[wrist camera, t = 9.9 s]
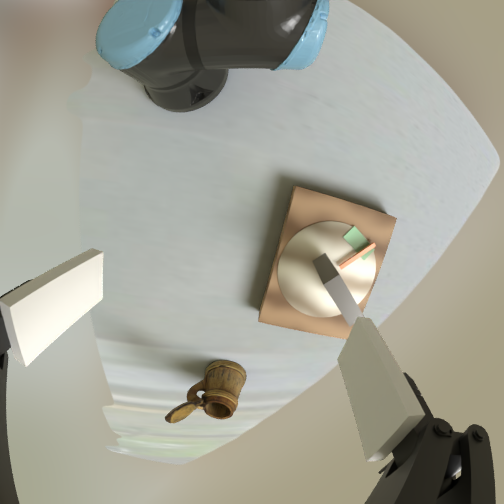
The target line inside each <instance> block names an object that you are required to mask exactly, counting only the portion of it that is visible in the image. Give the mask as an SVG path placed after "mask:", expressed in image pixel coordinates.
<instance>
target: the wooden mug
mask: <svg viewBox="0 0 504 504" xmlns="http://www.w3.org/2000/svg"><path fill="white" fill-rule="evenodd" d="M245 381H246V372H245V370H244V369H243V367H241V366H240V365H239V364H237V363H235V362H232V361H224V360H219V361H215V362H213V363H212V364H210V365H209V366H208V367H207V368H206V370H205V378H204V379H203V380H202V381H200V382H199V383H197V384H195V385H194V386H192V387H191V388H190V389H189V391H188V393H187V401H188V402H186V403H183V404H181V405H179V406H177V407H176V408H174V409H173V410H172V411H170V412H169V413H168V414H167V415H166V416H165V420H166V421H167V422H169V423H176V422H179V421H181V420H183V419H184V418H186V417H187V416H188V415H190V414H191V413H192V411H193V410H195V409H197V408H198V409H202V410H204V411H205V413H206V414H207V415H209V416H211V417H213V418H216V419H227V418H230V417H231V416H232V415H233V412H234V411H235V410H236V408H237V406H238V398H239V395H240V392H241V389H242V387H243V385H244V383H245ZM198 391H204V392H205V393H204V394H202V398H199V397H198V396H197V392H198Z"/></svg>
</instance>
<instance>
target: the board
mask: <svg viewBox="0 0 504 504" xmlns="http://www.w3.org/2000/svg"><path fill="white" fill-rule="evenodd" d="M396 219H397V218H395V217H393V216H390V215H388V214H385V213H382V212H379V211H376V210H373V209H370V208H367V207H364V206H361V205H358V204H355V203H352V202H349V201H346V200H343V199H339V198H336V197H333V196H330V195H326V194H323V193H319V192H316V191H312V190H309V189H305V188H302V187H298V186H293V190H292V194H291V198H290V202H289V206H288V209H287V213H286V217H285V221H284V224H283V228H282V232H281V236H280V239H279V243H278V247H277V250H276V254H275V257H274V261H273V265H272V268H271V272H270V275H269V279H268V282H267V286H266V289H265V293H264V296H263V300H262V303H261V307H260V310H259V320H258V322H262V323H266V324H271V325H275V326H280V327H284V328H289V329H294V330H299V331H304V332H309V333H314V334H319V335H325V336H330V337H336V338H342V339H348V337H349V334H350V332H351V330H352V328H353V326H354V324H353V325H352V326H349V325H348V323H347V322H346V320H345V318H344V317H343V315H342V314H341V312H340V310H339V309H338V307H337V306H336V304H335V302H334V301H333V299H332V298H331V296H330V295H329V293H328V291H327V290H326V288H325V287H324V285H323V283H322V281H321V279H320V277H319V275H318V272H317V270H316V268H315V266H314V264H313V262H312V261H313V260H314V259H316V258H318V257H319V256H321V255H322V254H324V253H326V255H327V256H328V258H329V259H330V261H331V262H332V264H333V265H334V267H335V268H336V270H337V271H338V273H339V274H340V276H341V278H342V279H343V281H344V283H345V284H346V286H347V288H348V289H349V291H350V293H351V294H352V296H353V298H354V300H355V301H356V303H357V305H358V306H359V308H360V310H361V312H362V313H363V310H364V308H365V306H366V303H367V301H368V298H369V296H370V294H371V291H372V289H373V286H374V284H375V281H376V278H377V276H378V273H379V270H380V268H381V265H382V262H383V259H384V256H385V254H386V251H387V248H388V245H389V242H390V239H391V235H392V232H393V229H394V226H395V223H396ZM372 242H374V243H375V245H376V247H374V248H373V249H371V250H370V251H368V252H367V253H365V254H364V255H363V256H361V257H360V258H358V259H357V260H355V261H354V262H352V263H351V264H349V265H348V266H346V267H345V268H343V269H342V270H341V268H340V267H339V265H340V264H341V263H343V262H344V261H346V260H347V259H349V258H350V257H352V256H353V255H355V254H356V253H358V252H359V251H361V250H362V249H364V248H365V247H367V246H368V245H369V244H371V243H372Z"/></svg>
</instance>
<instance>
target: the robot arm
mask: <svg viewBox="0 0 504 504" xmlns="http://www.w3.org/2000/svg"><path fill="white" fill-rule="evenodd" d="M328 14H329V0H118V1H117V2H116V3H115V4H114V6H113V7H112V8H110V10H109V11H108V12H107V13H106V14H105V16H104V17H103V19H102V21H101V23H100V25H99V28H98V30H97V34H96V48H97V51H98V53H99V55H100V56H101V57H102V58H103V59H104V60H106V61H107V62H108V63H109V64H110V65H111V66H112V67H113V68H115V69H118V70H120V71H122V72H124V73H126V74H127V75H129V76H131V77H132V78H134V79H136V80H138V81H139V82H141V83H142V84H143V85H144V87H145V90H146V93H147V95H148V96H149V98H150V99H151V100H152V101H153V102H154V103H155V104H156V105H158V106H160V107H162V108H163V109H166V110H168V111H172V112H188V111H193V110H196V109H199V108H201V107H203V106H205V105H206V104H208V103H209V102H211V101H212V100H213V99H214V98H215V97H216V96H217V95H218V94H219V93H220V92H221V90H222V89H223V87H224V85H225V83H226V80H227V77H228V69H234V68H266V69H270V70H273V71H276V70H280V69H291V70H300V69H304V68H306V67H308V66H310V65H311V64H312V63H313V62H314V60H315V59H316V57H317V55H318V53H319V51H320V49H321V46H322V43H323V40H324V37H325V33H326V29H327V20H326V19H327V17H328ZM102 281H103V252H102V251H99V250H96V249H93V248H92V249H90V250H88V251H86V252H84V253H82V254H80V255H78V256H76V257H74V258H72V259H70V260H68V261H66V262H64V263H62V264H60V265H58V266H57V267H55V268H53V269H51V270H49V271H47V272H45V273H44V274H42V275H40V276H38V277H36V278H35V279H32V280H28V281H26V282H24V283H23V284H21V285H20V286H18V287H16V288H14V290H11V291H9V292H7V293H5V294H4V295H2V296H1V297H0V504H19V501H18V497H17V493H16V489H15V484H14V479H13V474H12V469H11V462H10V455H9V448H8V439H7V438H8V437H7V424H6V382H7V367H8V354H7V350H8V349H9V348H11V349H12V352H13V355H14V358H15V359H16V360H17V361H19V362H20V363H21V364H23V365H24V366H28V365H29V364H30V363H31V362H32V361H33V360H34V359H35V358H36V357H37V356H38V355H39V354H40V353H41V352H42V351H43V350H45V349H46V348H47V347H48V346H49V345H50V344H51V343H52V342H53V341H54V340H55V339H56V338H58V337H59V336H60V335H61V334H62V333H63V332H64V331H65V330H67V329H68V328H69V327H70V326H71V325H72V324H73V323H74V322H76V321H77V320H78V319H79V318H80V317H81V316H83V314H85V313H86V312H87V311H89V310H90V309H91V308H92V307H93V306H94V305H96V304H97V303H98V302H99V301H100V300H102V299H103V291H102ZM337 360H338V363H339V366H340V369H341V372H342V376H343V379H344V382H345V385H346V389H347V392H348V396H349V399H350V402H351V406H352V409H353V413H354V417H355V420H356V424H357V427H358V431H359V435H360V438H361V442H362V446H363V450H364V454H365V458H366V461H378V460H383V459H385V458H386V457H387V456H388V455H389V454H390V453H391V452H392V453H393V456H394V458H393V459H392V460H391V461H390V462H389V463H388V464H387V465H386V466H385V467H384V468H382V469H381V470H380V471H379V473H380V474H381V473H382V472H383V471H384V473H383V475H382V477H381V478H380V480H379V482H378V483H377V485H376V487H375V488H374V490H373V491H372V493H371V495H370V496H369V498H368V499H367V501H366V502H365V504H496V500H495V479H494V469H493V460H492V453H491V447H490V441H489V436H488V434H487V432H486V431H485V429H484V428H483V427H481V426H479V425H476V424H473V425H471V426H469V427H468V428H467V430H466V431H465V432H464V433H459V432H454V431H453V429H452V427H451V426H450V424H449V423H448V422H446V421H445V420H443V419H440V418H434V417H433V415H432V413H431V411H430V409H429V408H428V406H427V404H426V402H425V400H424V398H423V397H422V396H421V393H420V391H419V390H418V388H417V386H416V384H415V383H414V381H413V379H411V378H410V377H409V376H408V375H407V374H406V373H403V372H402V370H401V369H400V367H399V365H398V363H397V362H396V360H395V358H394V357H393V355H392V353H391V351H390V350H389V348H388V346H387V345H386V343H385V341H384V340H383V338H382V336H381V335H380V333H379V331H378V330H377V328H376V326H375V325H374V323H373V322H372V320H371V319H370V318H365V317H360V316H358V317H357V319H356V321H355V323H354V326H353V328H352V330H351V332H350V334H349V337H348V339H347V341H346V343H345V345H344V347H343V349H342V351H341V353H340V355H339V357H338V359H337ZM460 470H461V476H460V477H459V478H457V479H456V473H458V472H459V471H460Z"/></svg>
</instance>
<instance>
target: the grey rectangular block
mask: <svg viewBox="0 0 504 504" xmlns="http://www.w3.org/2000/svg"><path fill="white" fill-rule="evenodd" d="M374 247H376V245H375V243H374V242H372V243H371V244H369V245H368V246H367V247H365V248H364V249H362V250H361V251H359V252H358V253H356V254H355V255H353V256H352V257H350V258H349V259H347V260H346V261H344V262H343V263H341V264H340V265H339V267H340V268H341V270H342V269H343V268H345V267H346V266H348V265H349V264H351V263H352V262H354V261H355V260H357V259H358V258H360V257H361V256H363V255H364V254H365V253H367V252H368V251H370V250H371V249H373V248H374ZM312 262H313V264H314V266H315V268H316V270H317V272H318V275H319V277H320V279H321V281H322V283H323V285H324V287H325V288H326V290H327V291H328V293H329V295H330V296H331V298H332V299H333V301H334V302H335V304H336V306H337V307H338V309H339V310H340V312H341V314H342V315H343V317H344V318H345V320H346V322H347V323H348V325H349V326H352V325H353V324H354V323H355V321H356V319H357V317H358V316H360V317H364V315H363V314H362V312H361V310H360V308H359V306H358V305H357V303H356V301H355V300H354V298H353V296H352V294H351V293H350V291H349V289H348V288H347V286H346V284H345V283H344V281H343V279H342V278H341V276H340V274H339V273H338V271H337V270H336V268H335V267H334V265H333V264H332V262H331V261H330V259H329V258H328V256H327V255H326V253H324V254H322V255H321V256H319V257H318V258H316V259H314V260H313V261H312Z"/></svg>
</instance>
